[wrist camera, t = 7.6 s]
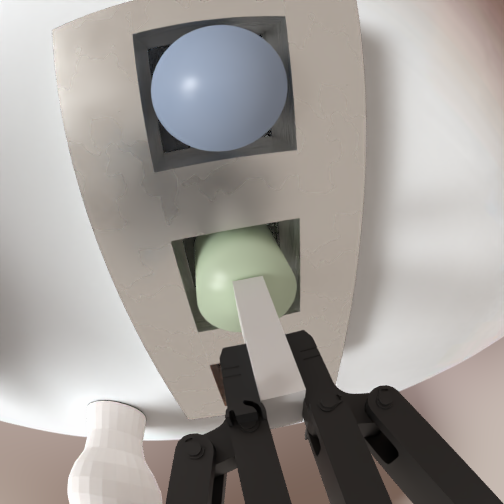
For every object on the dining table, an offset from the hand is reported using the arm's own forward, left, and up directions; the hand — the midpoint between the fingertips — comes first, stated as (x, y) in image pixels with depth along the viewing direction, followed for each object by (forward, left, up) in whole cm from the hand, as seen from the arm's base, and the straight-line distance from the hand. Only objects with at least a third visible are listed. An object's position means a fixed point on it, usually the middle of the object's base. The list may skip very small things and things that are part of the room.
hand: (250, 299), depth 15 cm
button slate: (0, +10, -5) cm, 11 cm away
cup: (-18, -21, -6) cm, 28 cm away
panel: (0, 0, -6) cm, 6 cm away
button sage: (0, 0, -5) cm, 5 cm away
